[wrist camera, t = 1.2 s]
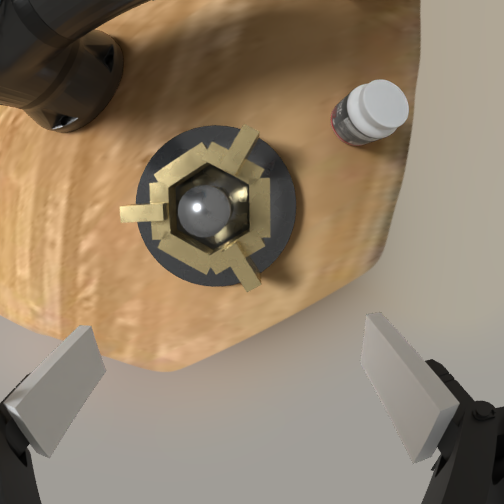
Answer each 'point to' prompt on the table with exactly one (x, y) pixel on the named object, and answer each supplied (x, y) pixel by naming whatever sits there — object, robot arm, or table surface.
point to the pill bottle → (369, 113)
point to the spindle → (205, 210)
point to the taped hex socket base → (187, 247)
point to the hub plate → (239, 191)
